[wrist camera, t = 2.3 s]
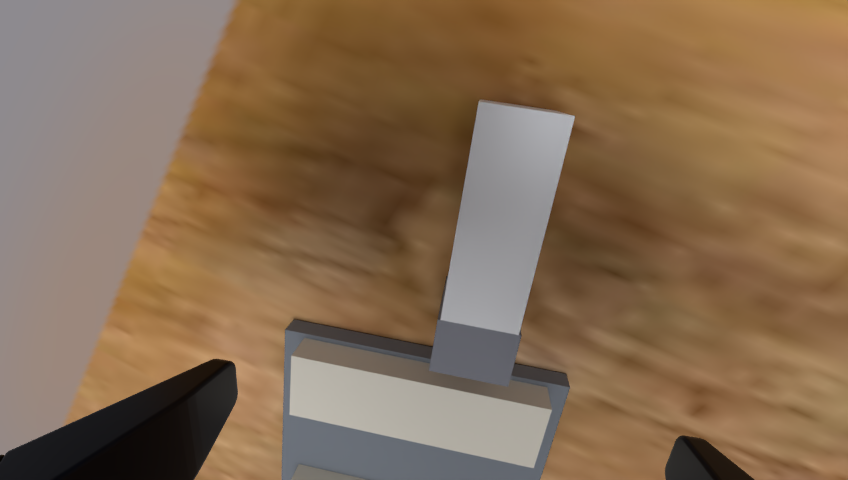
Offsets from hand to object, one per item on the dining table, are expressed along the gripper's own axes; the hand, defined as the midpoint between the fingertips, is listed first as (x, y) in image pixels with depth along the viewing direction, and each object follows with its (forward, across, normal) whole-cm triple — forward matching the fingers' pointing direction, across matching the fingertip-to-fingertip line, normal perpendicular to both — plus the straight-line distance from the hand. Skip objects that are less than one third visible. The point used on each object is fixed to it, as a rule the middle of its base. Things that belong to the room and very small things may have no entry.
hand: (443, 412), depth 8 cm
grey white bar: (+11, -1, -1) cm, 11 cm away
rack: (+11, +2, +17) cm, 20 cm away
